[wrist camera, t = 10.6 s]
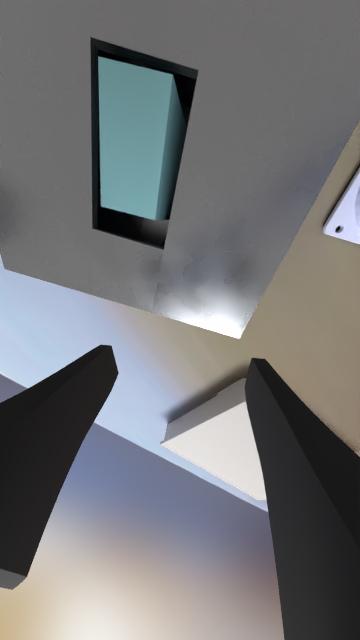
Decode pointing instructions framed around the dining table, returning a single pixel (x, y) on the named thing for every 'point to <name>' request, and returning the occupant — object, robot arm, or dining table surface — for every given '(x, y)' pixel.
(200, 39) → the box
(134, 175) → the teal rectangular block
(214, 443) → the book
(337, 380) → the dining table surface
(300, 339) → the dining table surface
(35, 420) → the robot arm
